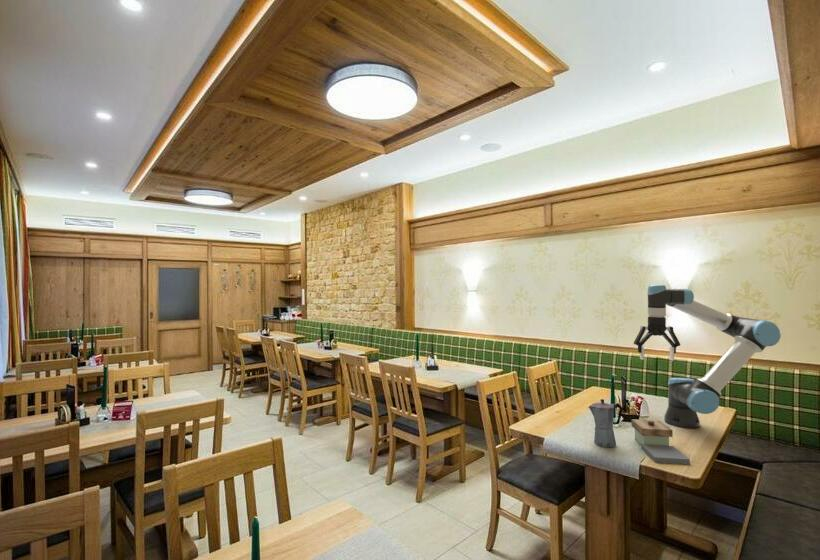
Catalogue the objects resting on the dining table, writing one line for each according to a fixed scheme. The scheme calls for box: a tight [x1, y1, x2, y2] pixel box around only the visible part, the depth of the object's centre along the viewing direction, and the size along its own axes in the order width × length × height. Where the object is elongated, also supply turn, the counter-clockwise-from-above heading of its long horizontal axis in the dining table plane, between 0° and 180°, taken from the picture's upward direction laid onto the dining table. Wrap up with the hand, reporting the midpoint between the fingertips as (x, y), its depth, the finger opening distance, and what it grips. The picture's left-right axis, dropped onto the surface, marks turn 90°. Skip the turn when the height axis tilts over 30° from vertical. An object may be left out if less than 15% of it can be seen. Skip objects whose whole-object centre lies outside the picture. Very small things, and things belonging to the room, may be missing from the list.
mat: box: [640, 444, 691, 465], centre depth 167 cm, size 13×13×2 cm
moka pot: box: [587, 398, 624, 448], centre depth 180 cm, size 10×15×20 cm, turn 95°
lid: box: [631, 418, 674, 438], centre depth 179 cm, size 12×12×4 cm
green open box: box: [634, 428, 670, 446], centre depth 179 cm, size 10×10×6 cm
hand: (656, 359), depth 195 cm, fingers open, 13 cm apart
